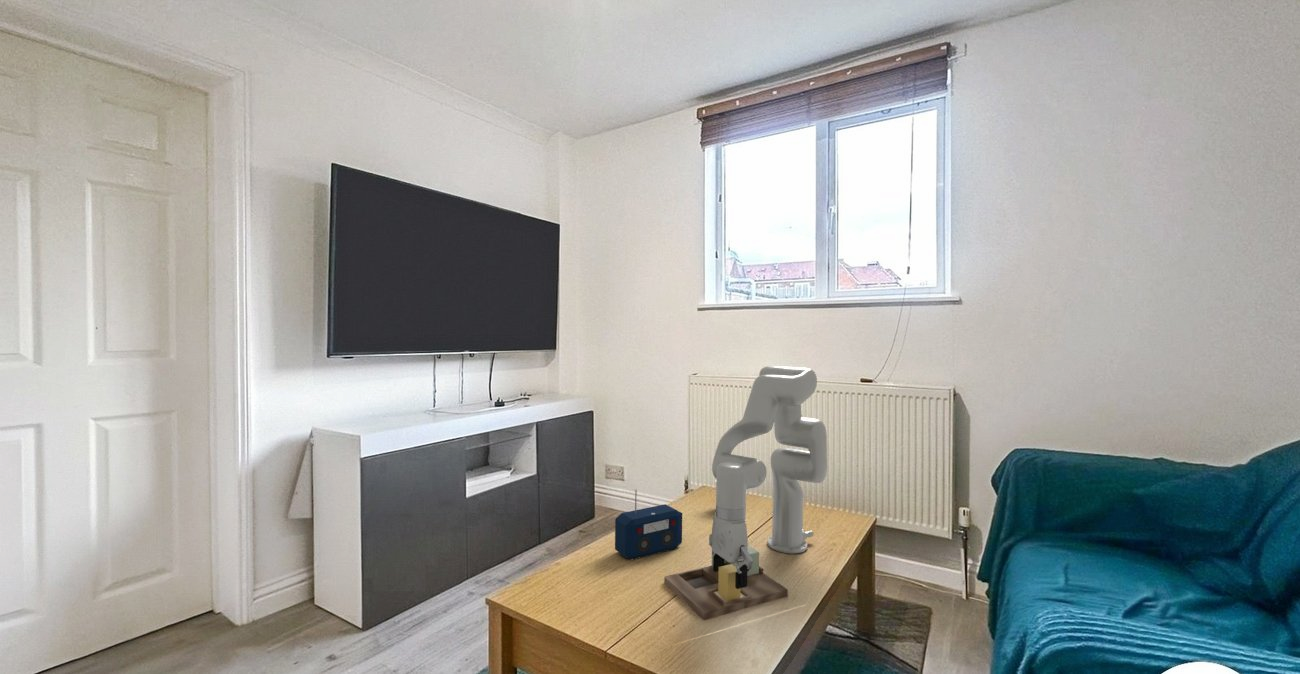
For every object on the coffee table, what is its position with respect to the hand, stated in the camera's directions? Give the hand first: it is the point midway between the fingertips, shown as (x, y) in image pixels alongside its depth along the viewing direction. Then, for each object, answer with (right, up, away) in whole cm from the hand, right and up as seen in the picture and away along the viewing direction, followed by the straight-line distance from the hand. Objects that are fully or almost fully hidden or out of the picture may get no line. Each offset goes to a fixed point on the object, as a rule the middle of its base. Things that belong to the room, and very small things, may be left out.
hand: (729, 578), depth 133 cm
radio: (-20, -6, +32) cm, 38 cm away
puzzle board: (0, -6, +7) cm, 10 cm away
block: (0, -4, 0) cm, 4 cm away
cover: (+3, -4, +14) cm, 15 cm away
